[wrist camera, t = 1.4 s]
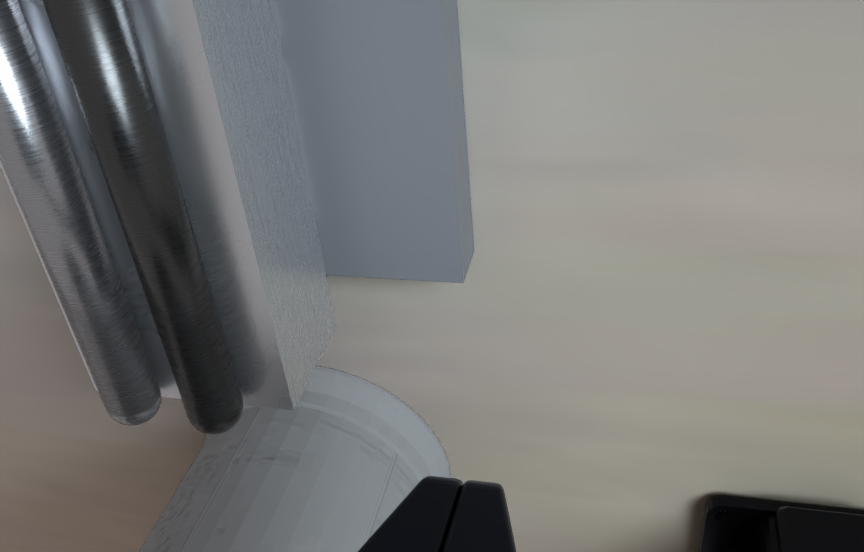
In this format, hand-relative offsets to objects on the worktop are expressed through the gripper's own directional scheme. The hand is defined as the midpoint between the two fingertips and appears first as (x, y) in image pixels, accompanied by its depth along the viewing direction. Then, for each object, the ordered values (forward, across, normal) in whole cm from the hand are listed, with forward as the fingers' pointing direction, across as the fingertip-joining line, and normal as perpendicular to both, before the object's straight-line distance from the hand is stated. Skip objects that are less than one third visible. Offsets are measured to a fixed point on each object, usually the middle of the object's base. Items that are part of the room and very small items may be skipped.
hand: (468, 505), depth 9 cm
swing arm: (+10, +8, -2) cm, 13 cm away
